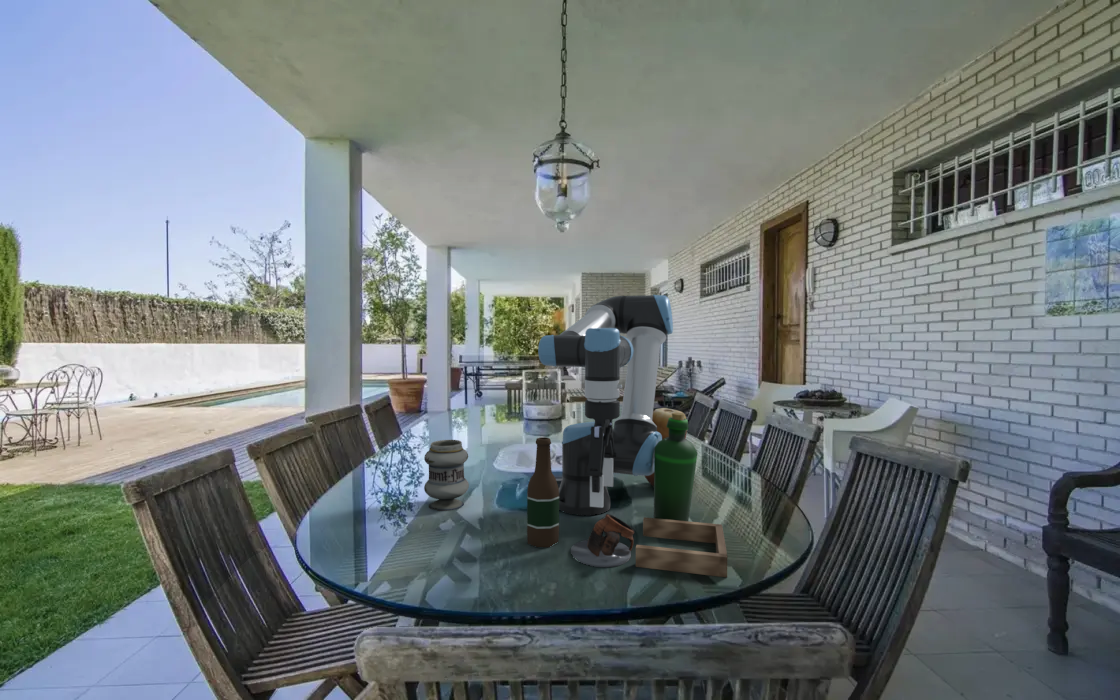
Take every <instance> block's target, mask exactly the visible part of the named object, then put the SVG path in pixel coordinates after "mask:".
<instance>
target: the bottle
mask: <svg viewBox="0 0 1120 700" xmlns="http://www.w3.org/2000/svg"><path fill="white" fill-rule="evenodd" d="M683 413H684V412H682V413H672V417H670V418H669V419H668V422H667V426H666V427H667V428H669V437H666V438H664V439H663V440H661V441H659V442H658V443H657V445H656V446H655V460H654V487H653V518H657V519H668V520H679V521H689V519H690V512H691V511H690V510H691V503H692V497H693V489H694V482H695V477H696V476H695V475H696V469H697V468H696V467H697V460H698V454H699V453H698V451H697V449H696V447H695V446H694V444H693V443H692V442H691V441H690V440H688V439H687V438H686V439H685V435H686V436H687V434H686V430H687V431H688V430H689V421H688V419H687V418H686V419H685V418H684V417H685V416H686V413H684V414H683Z"/></svg>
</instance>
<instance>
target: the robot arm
mask: <svg viewBox="0 0 1120 700" xmlns="http://www.w3.org/2000/svg"><path fill="white" fill-rule="evenodd" d="M673 321H674V320H673V312H672V307H671V301H670V299H669V297H668V296H667V295H664V294H663V295H662V294H658V295H657V294H652V295H651V294H648V295H647V294H644V295H617V296H612V297H609V298H606V299H603V300H602V301H599V302H597V303H594V304H593V305H592V306H590V307H589V308H588V309H587V311H586V312H585V314H584V316H583V317H581V318H580V319H579V320H576V321H575V323H574V324H572V325H570V326H569V327H568V328H567V329H565V330H564V331H562V332H561V333H560V334H557V335H555V334H551V335H544V336H542V337H541V338H540V340H539V343H538V349H537V351H538V352H537V354H538V358H539V359H538V360H539V362H540V364H542V365H543V366H546V367H547V366H549V367H554V368H556V367H563V368H565V367H567V368H568V367H572V368H573V367H575V368H584V398H586V399H585V401H584V415H585V417H586V418H587V419H592V420H594V421H586V422H580V423H574V424H573V423H572V424H570V425H568V426H566V427H565V428H564V429H563V431H562V442H561V445H562V447H561V448H562V449H561V450H562V455H561V458H562V459H561V460H562V466H561V467H562V469H561V474H562V475H561V482H560V484H559V486H558V488H559V510H561V511H564V512H566V513H565V514H567V513H570V514H569V515H572V514H578V515H577V516H584V515H586V516H596V515H595V514H597V515H602V514H604V512H605V513H607V512H608V511H609V510H610V509H611V497H610V495H609V491H608V487H611V488H613V487H614V474H621V475H629V476H630V475H631V476H634V477H638V476H642V477H645V476H649V475H651V474H653V473H654V460H655V446H656V445H657V443H658V442H659V441H661V440H662V435H661V434H660V433H659V432H657V426H656V425H655V424H654V422H653V421H652V417H653V411H654V406H655V397H656V387H657V377H658V367H659V360H660V359H659V358H660V350H661V345H662V344H664V343H665V342H666V340H667V335H671V334H673V331H674V323H673ZM620 334H624V335H625V334H626V336H623V335H620ZM626 365H627V367H626V376H625V382H624V390H623V398H622V405H621V403H620V401H619V398H620V389H623V384H619V383H620V371H621V370H620V369H621V368H622V367H625V366H626ZM620 405H621V411H620ZM620 412H621V414H620ZM613 420H614V424H613ZM561 511H560V512H561ZM606 511H607V512H606ZM564 512H563V513H564ZM601 513H602V514H601Z"/></svg>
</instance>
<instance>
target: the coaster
mask: <svg viewBox="0 0 1120 700" xmlns="http://www.w3.org/2000/svg"><path fill="white" fill-rule="evenodd" d="M588 540H589V538H588V539H584V540H580V541H577V542H575V543H574V544H572V546H571V548H570V555H571V554H572V555H573V557H574V558H576V559H577V560H578V561H580V562H581V563H580V564H582V563H583V564H582V565H584V564H586V565H585V566H588V565H590V566H589V567H593V566H594V567H595V568H611V567H619V566H621V565H624V564H627V562H628V561H630V559H631V557H632V556H631V554H632V552H631V551H632V550H631V551H630V550H629V548H630V546H629V547H628V545H626V544H625V543H622V542H620V541H619V543H618V544H617V546H616V547H615V549H614V552H613V554H612V555H611V556H606V555H604V554H603V553H602V551H600V553H599V556H596V555H595V554H593V553H592V552H591V551H590V550H589V549H588V547H587V544H588ZM573 557H572V558H573Z"/></svg>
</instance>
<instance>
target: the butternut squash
mask: <svg viewBox="0 0 1120 700" xmlns="http://www.w3.org/2000/svg"><path fill="white" fill-rule="evenodd" d="M672 413H683V414H685V413H684V412H683V411H680V410H677V409H672V408H667V407H661V408H656V409H653V417H652V421H653V422H654V424H655V425H656V426H657V432H659V433H660V434H661V435H662V440H663V439H664V438H666V437H669V428H667V427H666V426H667V422H668V419H669V418H670V417H672ZM684 418H685V419H687V416H686V415H685V417H684ZM687 431H688V430H686V435H685V439H687V434H688V433H687ZM644 478H645V479H646V481H647V482H648V483H649V484H650V485H651V486H652V487H653V488H654V473H653V474H651V475H649V476H644Z"/></svg>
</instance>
